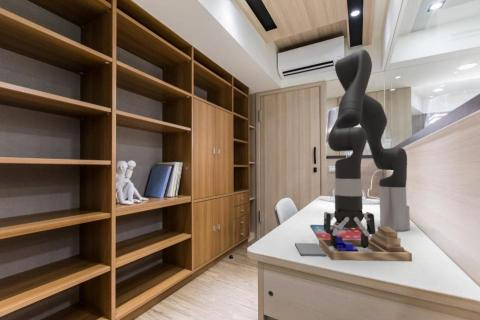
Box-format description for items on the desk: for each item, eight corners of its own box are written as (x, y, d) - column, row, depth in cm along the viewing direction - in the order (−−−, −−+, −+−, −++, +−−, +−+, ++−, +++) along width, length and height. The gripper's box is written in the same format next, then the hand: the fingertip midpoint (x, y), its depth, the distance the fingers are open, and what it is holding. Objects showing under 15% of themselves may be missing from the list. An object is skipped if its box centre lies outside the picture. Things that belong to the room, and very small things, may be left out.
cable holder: (358, 258, 62) (358, 244, 63) (346, 258, 62) (345, 244, 63) (344, 248, 70) (344, 235, 71) (333, 248, 70) (333, 235, 71)
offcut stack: (385, 245, 70) (384, 225, 71) (404, 256, 62) (403, 233, 62) (370, 245, 71) (369, 225, 71) (387, 256, 62) (386, 233, 62)
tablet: (322, 247, 72) (322, 244, 72) (309, 226, 97) (309, 224, 97) (385, 249, 70) (385, 247, 70) (356, 227, 94) (356, 225, 94)
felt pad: (316, 245, 73) (316, 243, 73) (325, 256, 64) (325, 254, 64) (295, 244, 73) (295, 243, 73) (301, 255, 64) (301, 253, 64)
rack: (386, 245, 72) (386, 239, 72) (411, 261, 60) (411, 253, 60) (318, 244, 73) (318, 238, 73) (331, 259, 61) (331, 252, 61)
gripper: (365, 192, 71) (367, 243, 70) (320, 192, 71) (321, 243, 71) (379, 195, 63) (380, 252, 63) (328, 195, 64) (329, 252, 63)
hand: (349, 247), depth 67 cm, fingers open, 8 cm apart
